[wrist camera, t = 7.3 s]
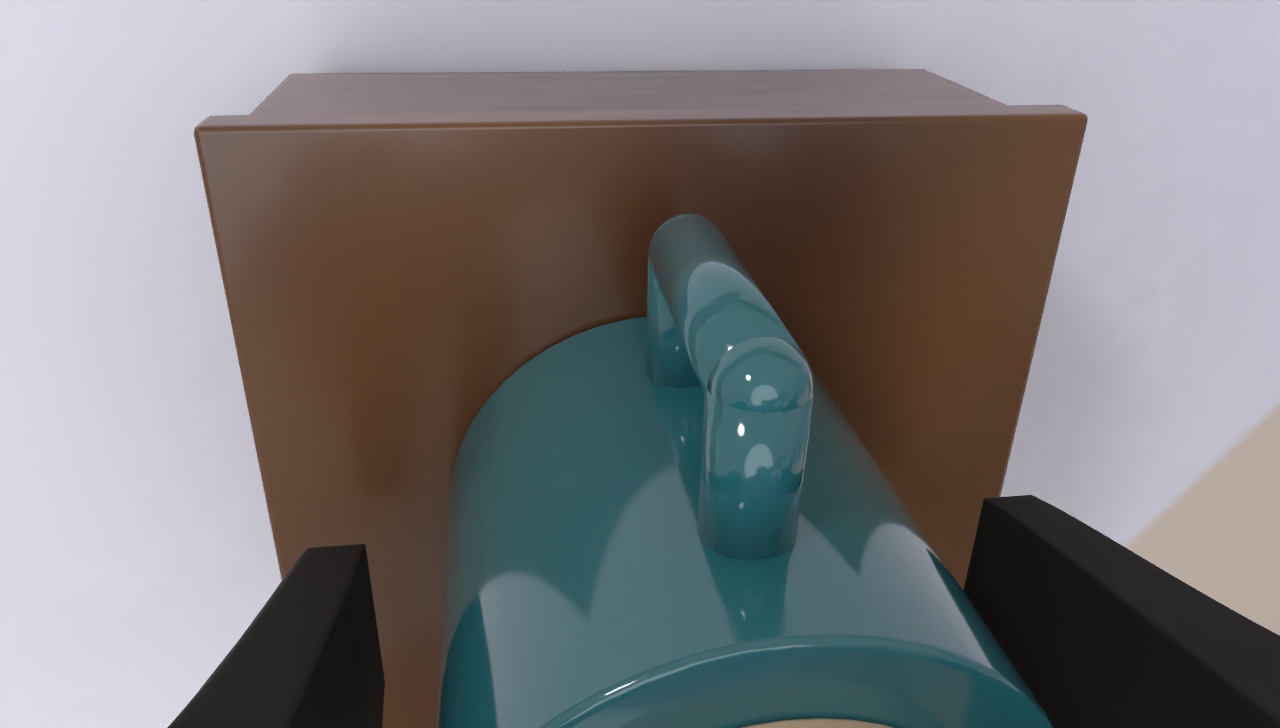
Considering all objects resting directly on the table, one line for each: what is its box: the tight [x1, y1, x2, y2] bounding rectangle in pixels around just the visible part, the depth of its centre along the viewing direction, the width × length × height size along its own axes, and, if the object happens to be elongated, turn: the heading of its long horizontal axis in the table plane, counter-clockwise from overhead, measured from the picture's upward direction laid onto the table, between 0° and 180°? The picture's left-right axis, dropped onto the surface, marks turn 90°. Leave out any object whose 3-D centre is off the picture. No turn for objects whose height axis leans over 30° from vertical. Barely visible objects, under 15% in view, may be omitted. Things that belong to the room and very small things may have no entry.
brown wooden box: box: [194, 69, 1087, 728], centre depth 15 cm, size 10×10×5 cm
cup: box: [435, 214, 1054, 728], centre depth 10 cm, size 5×7×6 cm
